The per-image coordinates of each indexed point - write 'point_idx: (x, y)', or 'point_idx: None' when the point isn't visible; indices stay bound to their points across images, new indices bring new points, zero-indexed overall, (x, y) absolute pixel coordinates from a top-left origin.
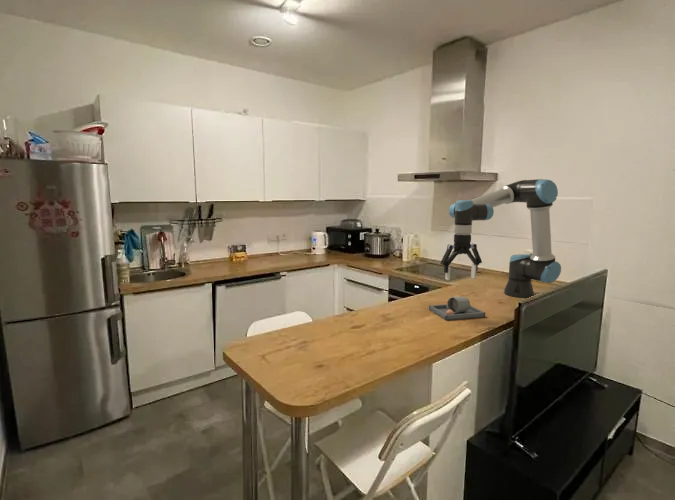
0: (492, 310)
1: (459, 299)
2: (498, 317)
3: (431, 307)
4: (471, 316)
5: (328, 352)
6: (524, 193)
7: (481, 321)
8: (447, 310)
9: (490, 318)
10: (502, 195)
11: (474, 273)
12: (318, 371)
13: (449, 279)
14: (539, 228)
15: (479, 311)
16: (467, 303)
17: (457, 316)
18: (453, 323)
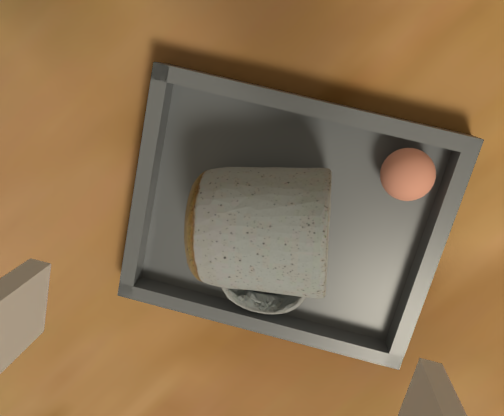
0: (8, 152)
1: (295, 212)
2: (78, 19)
3: (409, 337)
4: (270, 88)
5: None
6: None
7: (255, 5)
8: (425, 189)
9: (146, 27)
10: None
11: (7, 298)
12: None
13: (427, 365)
14: None
15: (162, 114)
16: (228, 176)
17: (385, 115)
18: (475, 60)
